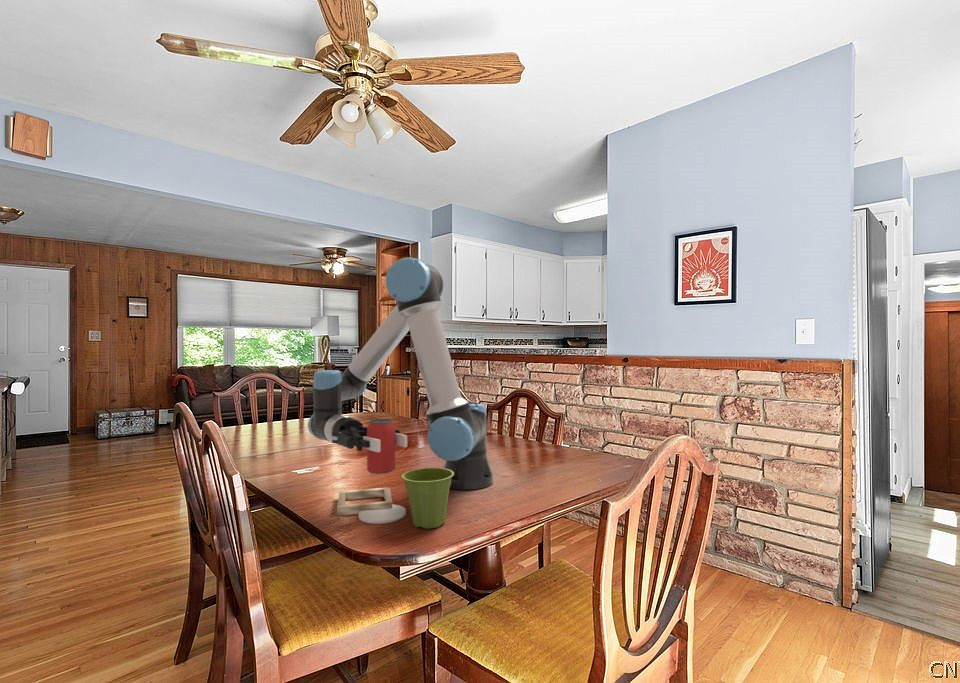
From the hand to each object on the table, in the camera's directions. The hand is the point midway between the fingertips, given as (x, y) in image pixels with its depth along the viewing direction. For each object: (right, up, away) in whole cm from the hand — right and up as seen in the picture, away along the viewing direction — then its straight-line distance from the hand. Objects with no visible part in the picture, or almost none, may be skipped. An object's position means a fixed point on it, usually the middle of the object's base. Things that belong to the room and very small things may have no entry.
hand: (392, 443), depth 113 cm
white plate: (-3, -18, +4) cm, 18 cm away
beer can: (-3, -7, +4) cm, 9 cm away
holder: (-9, -18, +11) cm, 23 cm away
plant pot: (+8, -18, -2) cm, 20 cm away
